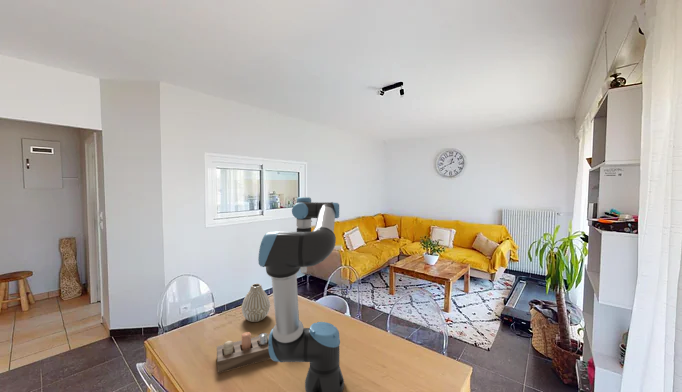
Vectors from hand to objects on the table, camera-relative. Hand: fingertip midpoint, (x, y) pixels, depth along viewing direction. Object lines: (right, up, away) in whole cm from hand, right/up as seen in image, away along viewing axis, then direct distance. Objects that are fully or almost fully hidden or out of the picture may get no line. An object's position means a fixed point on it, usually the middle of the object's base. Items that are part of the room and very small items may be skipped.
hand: (303, 272), depth 139 cm
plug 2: (-17, -34, -13) cm, 40 cm away
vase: (-31, -33, +19) cm, 49 cm away
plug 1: (-31, -34, -20) cm, 50 cm away
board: (-24, -34, -17) cm, 45 cm away
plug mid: (-24, -31, -17) cm, 43 cm away
